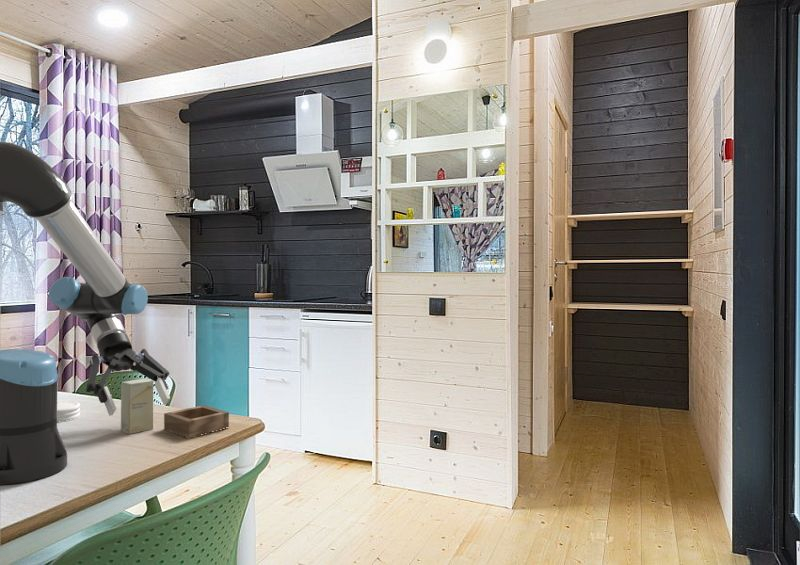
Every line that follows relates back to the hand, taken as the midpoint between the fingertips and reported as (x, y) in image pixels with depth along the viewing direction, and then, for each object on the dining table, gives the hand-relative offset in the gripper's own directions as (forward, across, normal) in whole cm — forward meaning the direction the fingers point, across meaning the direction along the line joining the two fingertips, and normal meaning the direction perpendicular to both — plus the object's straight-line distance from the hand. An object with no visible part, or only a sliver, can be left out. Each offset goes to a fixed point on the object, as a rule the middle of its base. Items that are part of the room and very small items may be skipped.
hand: (141, 406), depth 140 cm
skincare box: (+4, 0, -5) cm, 6 cm away
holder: (+10, -10, +2) cm, 14 cm away
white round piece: (-15, +8, -24) cm, 29 cm away
